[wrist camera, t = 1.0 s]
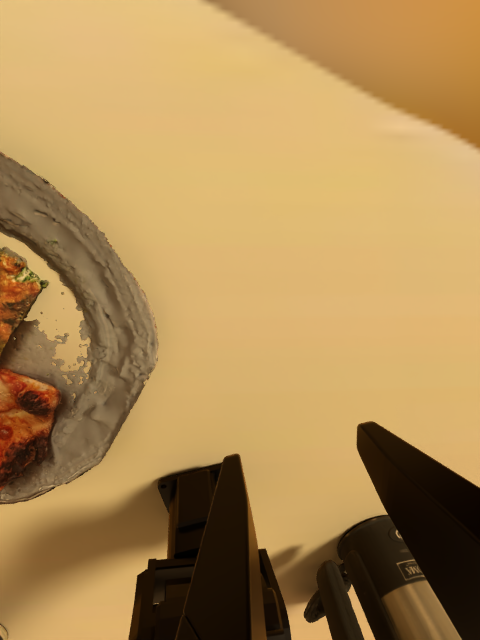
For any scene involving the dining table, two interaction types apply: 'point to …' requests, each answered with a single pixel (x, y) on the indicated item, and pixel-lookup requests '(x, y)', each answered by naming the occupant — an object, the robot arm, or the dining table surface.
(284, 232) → the dining table surface
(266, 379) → the dining table surface
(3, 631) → the coffee can
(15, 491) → the food plate
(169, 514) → the robot arm
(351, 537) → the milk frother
